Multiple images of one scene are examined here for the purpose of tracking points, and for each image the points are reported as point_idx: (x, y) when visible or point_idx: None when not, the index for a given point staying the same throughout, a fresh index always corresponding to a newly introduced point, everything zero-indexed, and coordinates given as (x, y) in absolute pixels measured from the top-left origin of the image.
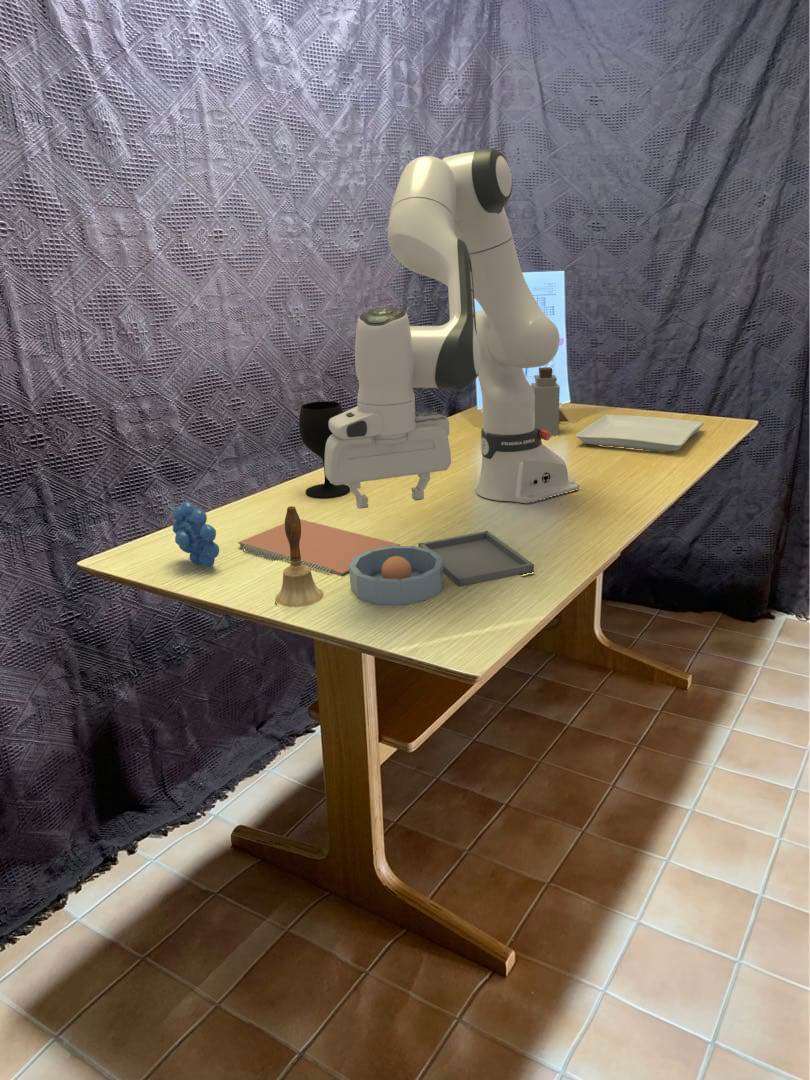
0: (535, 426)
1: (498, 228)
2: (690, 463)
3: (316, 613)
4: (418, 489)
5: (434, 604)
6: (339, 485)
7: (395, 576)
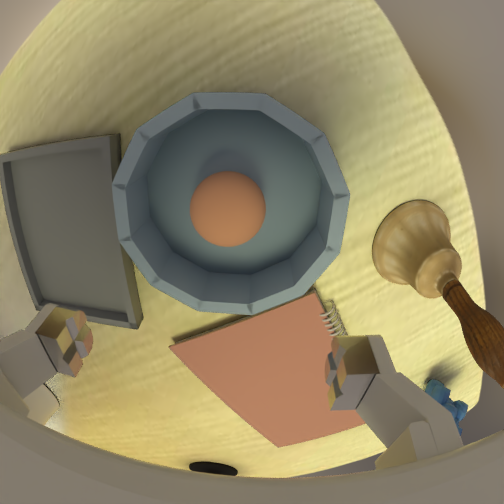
0: None
1: None
2: None
3: (417, 175)
4: (44, 345)
5: (192, 85)
6: (199, 471)
7: (244, 176)
